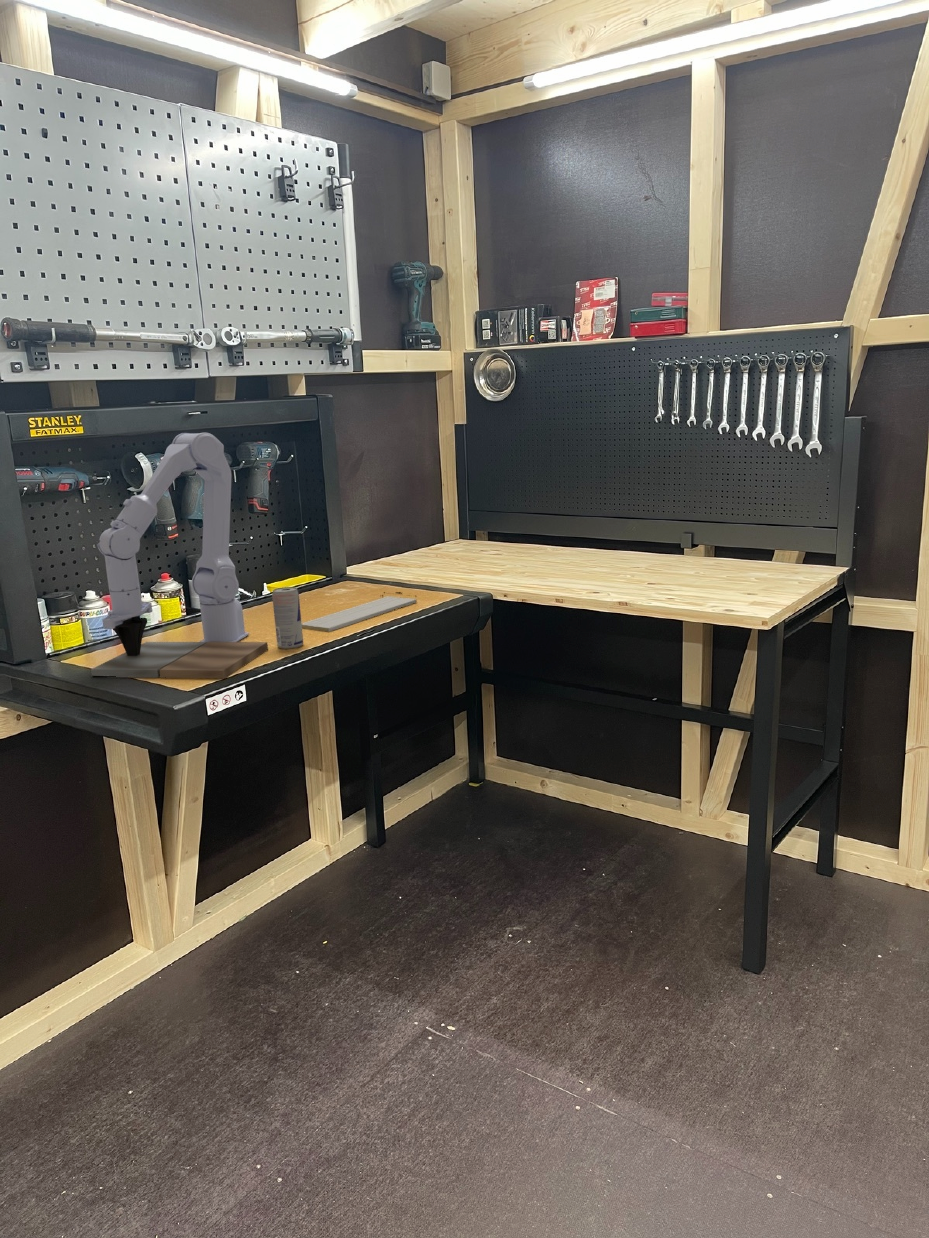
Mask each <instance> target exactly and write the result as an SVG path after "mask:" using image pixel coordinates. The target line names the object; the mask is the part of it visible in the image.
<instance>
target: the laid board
mask: <svg viewBox="0 0 929 1238" xmlns="http://www.w3.org/2000/svg"><path fill="white" fill-rule="evenodd" d="M268 650H269V647H268V642H267V641H237V642H208V643H206V644H204V645H202V646H201V647H199V648H197V649H195V650H194V651H192V652H190V653H188V654H187V655H185V656H183V657H181V658H179V659H178V660H176V661H174V662H172V663H171V664H169V665H167V666H165V667H163V668H162V669H160V670H159V671H160V677H159V678H160V679H198V678H217V679H216V680H225V679H226V678H228V677H229V676H231V675H232V674H233V673H235V672H236V671H238V670H240V669H241V668H243V667H244V666H245V664H246V665H247V664H248V663H249V664H250V662H252V661H253V660H255V659H257V658H259V656H261V655H262V654H264V653H265V652H267V651H268ZM230 674H231V675H230ZM165 677H166V678H165ZM172 677H173V678H172ZM224 678H225V679H224Z"/></svg>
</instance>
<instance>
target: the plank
mask: <svg viewBox="0 0 929 1238" xmlns="http://www.w3.org/2000/svg"><path fill="white" fill-rule="evenodd" d="M206 643H207V642H200V641H145V642H144V643H141V650H140V654H139V655H138V656H127V654H126V651H125V652H122V653H121V654H119V655H117V656H115V657H113V658H111V659H109V660H107V661H105V662H103V663H101V664H99V665H97V666H95V667H93V668H91V669H90V673H91V676H92V675H109V676H116V677H115V678H146V679H148V678H149V679H150V678H154V679H157V678H158V679H159V678H160V671H159V670H160V669H162V668H163V667H165V666H167V665H169V664H171V663H172V662H174V661H176V660H178V659H179V658H181V657H183V656H185V655H187V654H188V653H190V652H192V651H194V650H195V649H197V648H199V647H201V646H202V645H204V644H206Z"/></svg>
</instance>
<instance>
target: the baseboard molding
mask: <svg viewBox="0 0 929 1238" xmlns="http://www.w3.org/2000/svg"><path fill="white" fill-rule="evenodd" d="M385 594H386V592H385V591H384V592H383V594H382V595H381V597H380V598H379V599H375V600H372V601H369V602H365V603H362V604H359V605H356V606H353V607H350V608H347V609H343V610H340V611H337V612H334V613H330V614H327V615H324V616H321V617H318V618H314V619H311V620H308V621H305V622H301V623H302V630H303V629H304V630H309V631H310V630H311V631H317V632H324V633H325V632H326V633H331V632H334V631H337V630H340V629H342V628H345V627H349V626H351V625H355V624H357V623H360V622H363V620H364V621H366V619H367V620H369V619H372V617H373V618H375V617H374V616H376V617H378V615H379V616H381V615H380V614H382V615H384V614H383V613H385V614H387V612H388V613H391V612H393V611H392V610H394V609H397V610H399V609H398V608H400V609H402V608H401V607H403V606H406V607H408V605H409V606H411V604H412V605H414V604H413V603H415V604H417V602H418V601H417V599H416V598H407V597H398V596H397V597H396V596H391V594H392V595H393V593H391V592H388V594H390V595H388V596H384V595H385ZM395 594H396V595H400V596H402V591H399V592H397V591H396V592H395ZM407 596H409V597H410V596H411V595H410V594H409V595H408V594H407ZM414 597H417V595H414ZM403 608H404V607H403ZM390 611H391V612H390ZM394 611H395V610H394Z"/></svg>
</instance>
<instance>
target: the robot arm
mask: <svg viewBox="0 0 929 1238" xmlns="http://www.w3.org/2000/svg"><path fill="white" fill-rule="evenodd" d="M224 451H225V446H224V444H223V443H222V442H221V441H220V440H219V439H218V438H217V437H216V436H215V435H213V434H211V433H209V432H200V433H198V432H197V433H189V432H182V433H180V434H179V433H178V435H176V436H175V437H174V438H173V440H172V442H171V444H169V445H168V446H167V447H166V450H165V452H164V456H163V457H162V459H161V460H160V462H159V464H158V465H157V467H156V468H155V470H154V472H153V474H152V475H151V477H150V479H149V480H148V482H147V484H146V485H145V487H144V488H143V490H142V492H141V493H140V494H136V495H132V496H130V498H126V499H125V500H124V502H123V503H122V504H123V506H124V508H123V509H121V511H120V513H119V514H118V515H117V517H116V518H115V520H112V521H111V522H110V523H109V524H110V526H111V527H110V528H108V529H105V530H103V532H102V533H101V534H100V536H99V539H98V541H99V542H98V543H97V544H96V545H97V548H98V550H99V552H100V553H101V554H102V555H103V556H104V561H105V570H106V578H107V586H108V590H109V598H110V604H111V605H110V606H111V610H110V609H109V610H108V611H107V616H106V617H104V618H102V619H101V621H102V628H103V630H107V629H108V630H112V631H113V632H114V633H115V634H116V635H117V638H119V640H120V642H121V645H122V646H123V649H124V651H125V652H126V654H127V656H138V655H139V654H140V650H141V644H142V641H143V635H144V632H145V628H146V626H147V624H148V618H147V617H141V616H143V615H145V614H151V613H152V612H153V605H152V602H143V601H142V594H141V593H142V592H141V587H140V586H141V585H140V580H139V571H138V570H139V569H138V565H137V558H136V554H137V553H138V552H139V550H140V547H141V542H140V541H141V538H142V536H143V535H145V532H146V531H147V530H148V528H149V527H150V525H151V523H152V522H153V521H154V520H155V518H156V515H157V514H158V506H157V505H158V504H157V503H158V502H159V501H160V499H161V498H162V497H163V495H164V494H165V493H166V491H168V489H169V487H170V486H171V485H172V484H173V482H174V481H175V480H176V478H178V476H179V475H180V474H181V473H183V472H186V471H190V470H194V472H195V473H196V474H198V475H199V477H201V478H202V479H203V481H204V485H203V487H204V488H203V518H202V550H201V551H202V552H201V556H200V557H199V558H198V560H197V562H196V564H195V565H196V568H195V572H194V574H193V576H192V579H191V588H192V590H193V592H194V593H195V594H196V595H197V596H198V599H199V601H198V602H199V607H200V618H201V625H202V634H203V639H202V640H200V641H199V642H207V643H208V642H240V641H241V640H243V639H244V638H246V637H247V636H249V635H250V632H248V631H247V632H246V629H245V621H244V620H245V619H244V612H243V609H244V608H243V607H242V606H243V605H242V603H241V602H240V601H239V600H238V599H237V598H236V596H237V594H238V593H239V586H240V585H239V580H238V578H237V575H236V566H235V564H234V562H233V561H232V559H231V558H230V526H231V502H232V501H231V499H232V470H231V467H230V465H229V462H228V460H227V458H226V455H225V452H224Z"/></svg>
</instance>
